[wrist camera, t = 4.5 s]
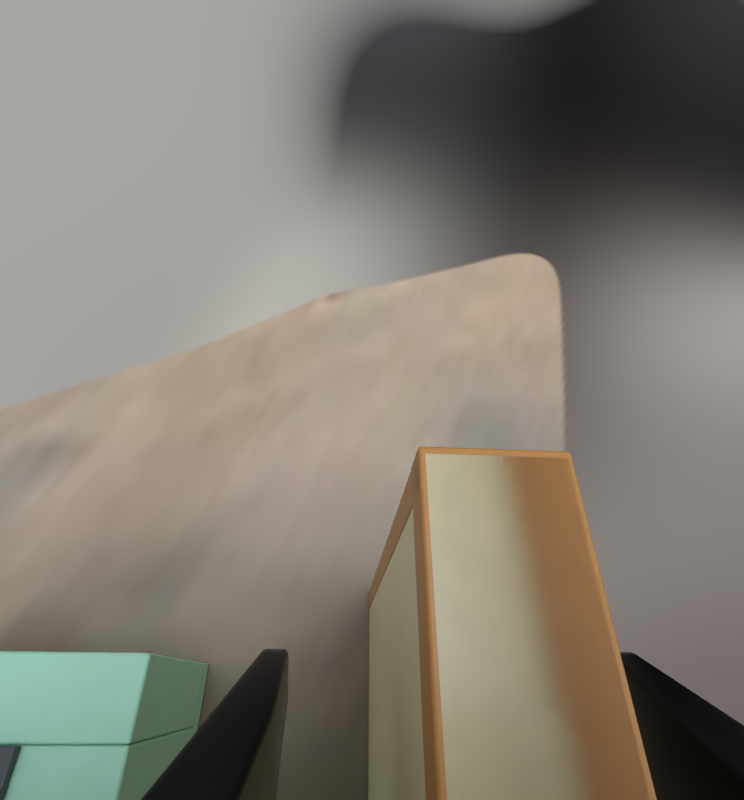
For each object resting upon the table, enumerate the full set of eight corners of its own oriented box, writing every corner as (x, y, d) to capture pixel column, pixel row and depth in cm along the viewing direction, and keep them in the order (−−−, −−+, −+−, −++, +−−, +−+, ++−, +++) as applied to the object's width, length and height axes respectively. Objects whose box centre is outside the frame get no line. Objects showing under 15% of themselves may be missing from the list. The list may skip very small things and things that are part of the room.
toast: (451, 933, 11) (974, 2048, 2) (366, 935, 11) (509, 2117, 2) (431, 591, 15) (571, 450, 6) (368, 590, 15) (418, 444, 6)
